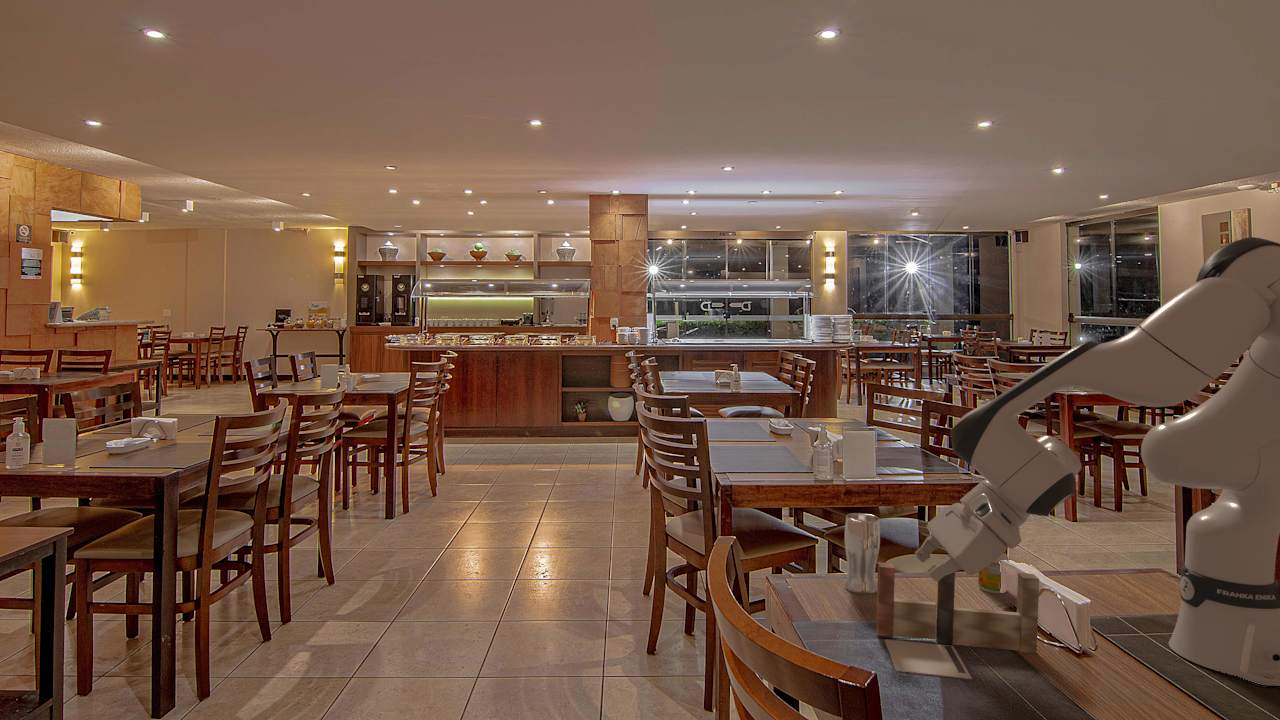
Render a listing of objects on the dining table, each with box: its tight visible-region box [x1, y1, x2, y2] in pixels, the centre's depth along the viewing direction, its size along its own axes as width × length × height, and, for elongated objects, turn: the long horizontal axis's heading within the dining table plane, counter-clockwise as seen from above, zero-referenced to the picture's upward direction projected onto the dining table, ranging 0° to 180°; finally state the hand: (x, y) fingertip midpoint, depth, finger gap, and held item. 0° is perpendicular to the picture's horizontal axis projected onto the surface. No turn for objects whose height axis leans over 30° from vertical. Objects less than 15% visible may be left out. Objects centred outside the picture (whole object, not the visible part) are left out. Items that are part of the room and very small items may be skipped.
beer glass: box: [844, 512, 881, 595], centre depth 138 cm, size 7×7×15 cm
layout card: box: [884, 638, 973, 680], centre depth 109 cm, size 11×11×1 cm
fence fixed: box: [935, 572, 1040, 655], centre depth 113 cm, size 15×3×13 cm, turn 79°
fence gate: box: [875, 561, 937, 640], centre depth 116 cm, size 9×2×12 cm, turn 79°
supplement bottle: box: [977, 552, 1009, 594], centre depth 139 cm, size 5×5×10 cm
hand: (924, 567), depth 114 cm, fingers open, 8 cm apart
